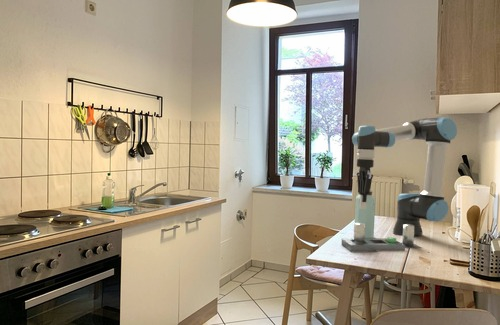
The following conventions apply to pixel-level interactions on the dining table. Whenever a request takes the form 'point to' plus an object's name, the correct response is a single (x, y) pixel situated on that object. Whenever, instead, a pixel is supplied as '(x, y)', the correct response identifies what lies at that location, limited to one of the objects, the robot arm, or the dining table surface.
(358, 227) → the cylinder
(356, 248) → the tray
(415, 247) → the pad
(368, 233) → the water bottle
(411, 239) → the billet
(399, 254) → the dining table surface
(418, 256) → the dining table surface
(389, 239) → the button
